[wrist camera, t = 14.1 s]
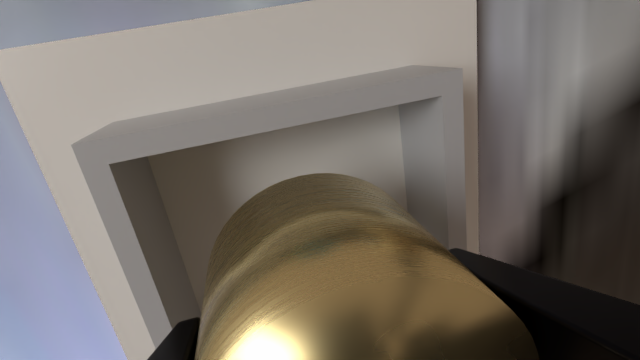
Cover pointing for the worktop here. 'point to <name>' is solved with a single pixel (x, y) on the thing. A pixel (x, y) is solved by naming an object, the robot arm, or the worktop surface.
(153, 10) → the worktop surface
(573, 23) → the worktop surface
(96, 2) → the worktop surface
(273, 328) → the cylinder
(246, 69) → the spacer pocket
